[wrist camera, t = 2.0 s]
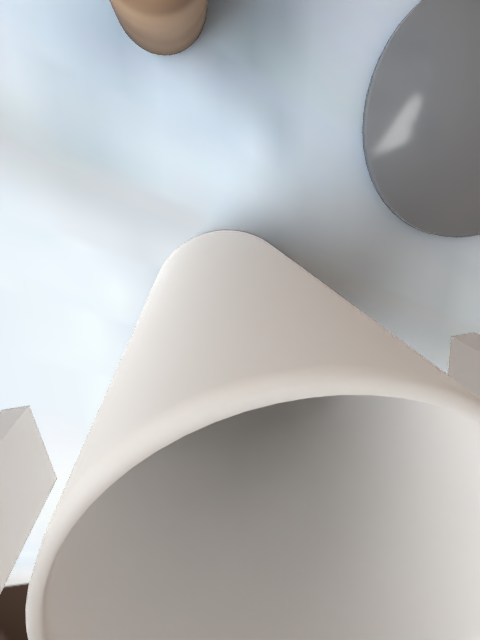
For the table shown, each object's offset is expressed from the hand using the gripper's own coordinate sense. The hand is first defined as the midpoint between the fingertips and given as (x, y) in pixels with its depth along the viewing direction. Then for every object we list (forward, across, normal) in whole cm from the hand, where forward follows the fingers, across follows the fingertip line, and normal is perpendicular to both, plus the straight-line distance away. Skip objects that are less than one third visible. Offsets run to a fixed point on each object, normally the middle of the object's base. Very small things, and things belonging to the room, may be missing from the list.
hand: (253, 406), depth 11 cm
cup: (+10, 0, 0) cm, 10 cm away
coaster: (+10, +14, +8) cm, 19 cm away
